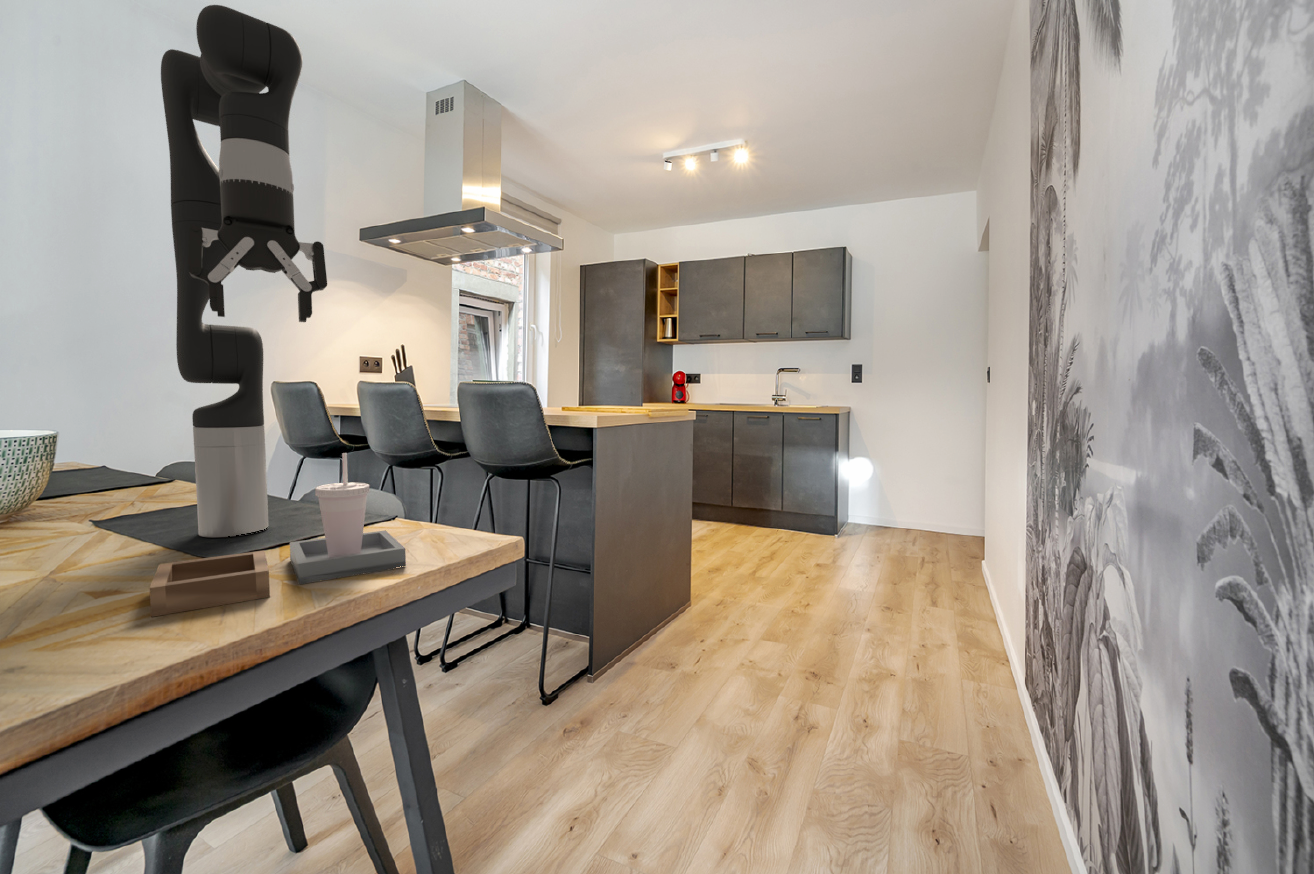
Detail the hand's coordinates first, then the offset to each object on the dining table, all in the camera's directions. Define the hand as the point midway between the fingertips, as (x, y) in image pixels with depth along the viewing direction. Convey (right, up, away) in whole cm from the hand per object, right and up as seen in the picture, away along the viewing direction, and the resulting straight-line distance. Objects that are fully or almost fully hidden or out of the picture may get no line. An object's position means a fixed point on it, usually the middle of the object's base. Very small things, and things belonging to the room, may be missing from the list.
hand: (263, 319), depth 72 cm
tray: (+9, -32, +4) cm, 33 cm away
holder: (0, -33, -8) cm, 34 cm away
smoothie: (+8, -31, +4) cm, 33 cm away
